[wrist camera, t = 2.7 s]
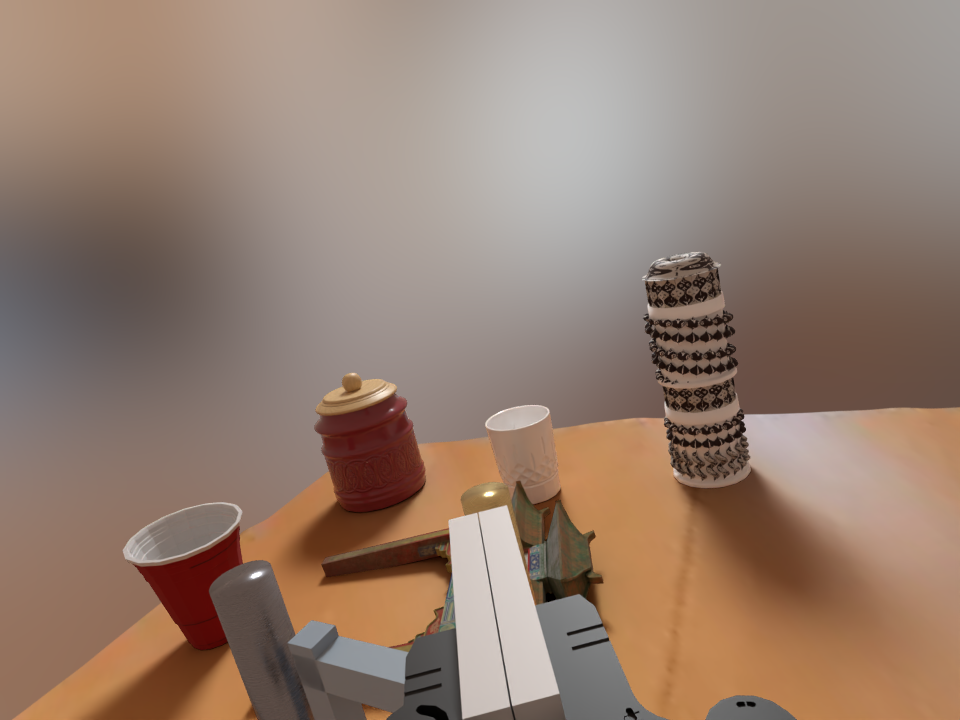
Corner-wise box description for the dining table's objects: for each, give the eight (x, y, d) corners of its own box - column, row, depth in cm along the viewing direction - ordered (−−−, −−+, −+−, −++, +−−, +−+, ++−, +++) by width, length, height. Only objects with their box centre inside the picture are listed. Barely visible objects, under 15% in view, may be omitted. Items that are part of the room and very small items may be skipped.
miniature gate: (331, 526, 73) (580, 465, 68) (347, 566, 74) (593, 509, 69) (217, 709, 47) (606, 630, 42) (245, 766, 48) (626, 696, 43)
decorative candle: (653, 480, 72) (616, 270, 67) (697, 448, 78) (666, 251, 72) (726, 497, 65) (691, 264, 59) (769, 461, 70) (740, 243, 65)
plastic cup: (225, 674, 56) (180, 558, 53) (141, 666, 60) (95, 559, 57) (297, 597, 66) (262, 496, 63) (220, 595, 70) (184, 500, 67)
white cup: (493, 493, 79) (475, 420, 77) (546, 471, 81) (530, 400, 79) (520, 515, 72) (501, 436, 69) (577, 490, 74) (561, 413, 72)
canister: (391, 464, 97) (361, 357, 93) (446, 476, 87) (415, 358, 83) (321, 504, 88) (284, 388, 84) (373, 522, 79) (334, 392, 75)
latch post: (561, 708, 44) (505, 477, 39) (570, 743, 41) (511, 498, 37) (519, 719, 44) (459, 489, 39) (526, 754, 41) (462, 510, 36)
